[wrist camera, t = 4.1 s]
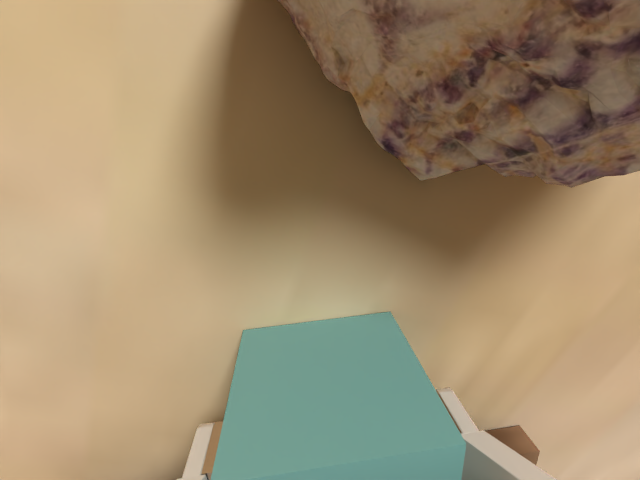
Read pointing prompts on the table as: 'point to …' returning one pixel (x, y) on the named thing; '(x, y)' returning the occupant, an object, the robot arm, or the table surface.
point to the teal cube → (335, 407)
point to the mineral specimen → (488, 81)
